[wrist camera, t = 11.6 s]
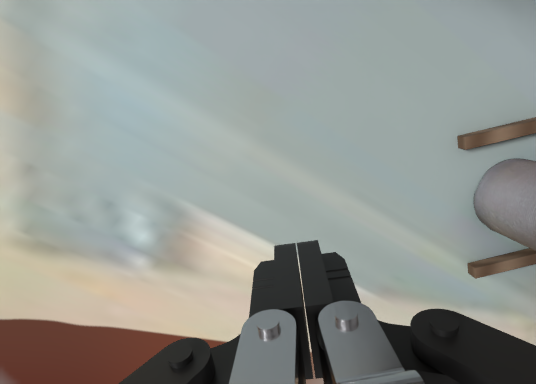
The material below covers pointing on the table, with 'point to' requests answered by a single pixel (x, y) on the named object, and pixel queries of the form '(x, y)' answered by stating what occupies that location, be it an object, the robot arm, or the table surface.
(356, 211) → the table surface
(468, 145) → the wooden u-shaped frame
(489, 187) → the pillar candle
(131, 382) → the robot arm
